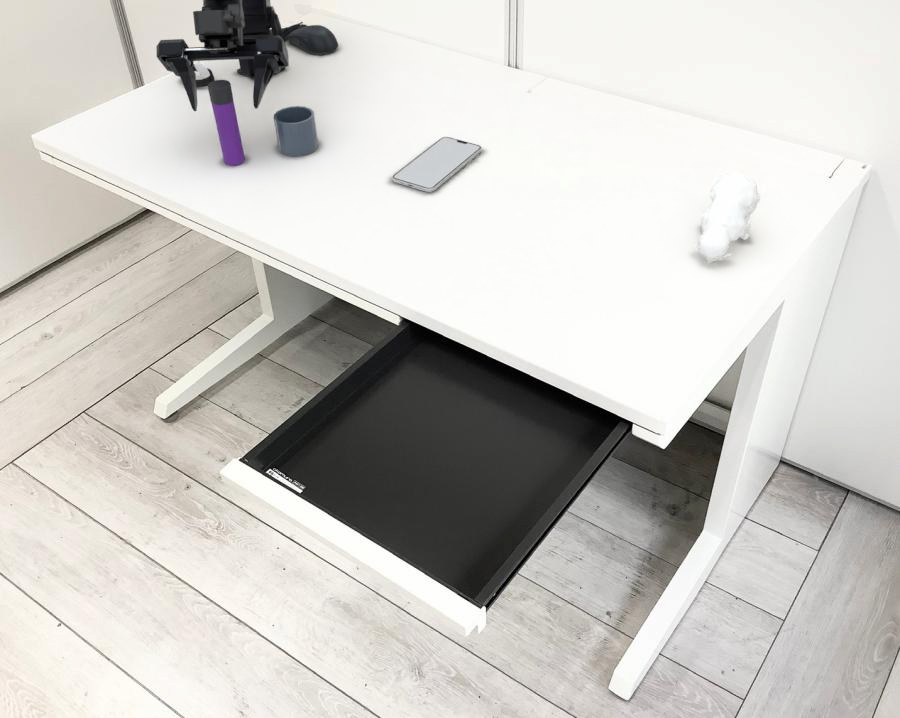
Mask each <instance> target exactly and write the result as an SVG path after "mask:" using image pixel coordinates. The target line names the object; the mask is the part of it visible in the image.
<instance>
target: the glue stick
mask: <svg viewBox="0 0 900 718" xmlns="http://www.w3.org/2000/svg"><path fill="white" fill-rule="evenodd" d="M207 91H208V96H209V99H210V102H211V107H212V111H213V116H214V121H215V125H216V130H217V134H218V140H219V144H220V149H221V153H222V157H223V163H224V164H225V165H227V166H229V167H230V166H231V167H236V166H240V165H242V164H244V163H245V162H246V157H245V152H244V147H243V141H242V137H241V131H240V127H239V126H240V125H239V121H238V117H237V112H236V111H237V110H236V106H235V101H234V94H233V89H232V84H231V82H230V81H229V80H227V79H216V80H215V81H212V82H210V83H209V84H208V86H207Z"/></svg>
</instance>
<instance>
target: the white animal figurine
mask: <svg viewBox="0 0 900 718" xmlns="http://www.w3.org/2000/svg"><path fill="white" fill-rule="evenodd" d="M709 192H710V195H709V196H710V200H711V202H710V204H709V206H708V208H707V210H706V211H705V212H704V213H703V214H702V216H701V219H700V227H701V232H702V234H701V235H700V237H699V240H698V245H697V244H696V243H694V242H693V243H694V246H695V248H696V249H697V250H698V251H699V252H698V254H699V255H701V256H702V257H703V258H704V259H706V261H707V262H708V263H709V264H712V263H713V262H715V261H724V260H727V257H729V256H731V255H733V254H734V252H733V253H732V252H731V253H728V250H729V248H730V244H731V243H732V242H733V241H736V240H739V239H741V240H743V241H745V240H748V238H749V232H750V230H751V228H752V224H751V223H748V221H749V220H750V217H751V215H752V214H753V213H754V212H755V211H756V209H757V207H758V204H759V203H760V201H761V195H760V193H759V190H758V186H757V183H756V182H755V180H754V179H753V178H751V177H749V176H747V175H745V174H744V173H741V172H732V173H725V174H723V175H721V176H720V177H719V178H718V179H717V181H716V182H715V184H714V185H713V186H712V187H711V188H710V190H709ZM726 253H727V254H726Z"/></svg>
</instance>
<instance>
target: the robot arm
mask: <svg viewBox="0 0 900 718" xmlns="http://www.w3.org/2000/svg"><path fill="white" fill-rule="evenodd" d="M192 15H193V25H194V33H195V36H198V41H199V42H200V43H201V44H202V43H203V46H196V47H195V46H194V47H193V46H191V47H190V46H189V45H188V44H187V42H186V41H185V40H184V38H177V39H175V38H174V39H160V40H159V42H158V43H157V44H156V48H155V49H156V58H157V60H158V61H159V62H160V63H161V64H162V66H163V68H165V70H166V71H167V72H171V73H173V74H174V75H175V77H179V78H180V80H181V82H182V84H183V87H184V90H185V93H186V95H187V98H188V101H189V103H190V107H191V109H192V110H193V111H194V112H197V110H198V91H197V89H198V88H197V87H196V80H197V77H196V76H197V75H196V71H194V70H193V69H192V67H193V66H194V64H195V63H194V62H198V61H200V62H203V61H230V60H238V64H239V68H238V69H236V72H237V74H240V75H243V76H245V77H249V78H251V79H253V90H252V92H253V94H252V98H253V99H252V101H253V108H254V109H256V110H257V109H258V108H259V107H260V104H261V101H262V99H263V98H264V97H263V96H264V95H265V91H266V90H267V88H268V85H269V83H270V82H271V80H272V78H273V77H274V75H276V74H278V73H280V72H282V71H284V70H286V68H287V67H289V65H290V62H289V60H290V59H289V58H290V57H289V50H288V48H287V46H286V42H285V40H283V39H282V37H283V35H282V28H283V27H282V24H281V21H280V18H279V15H278V14H277V13H276V10H275V7H274V5H271V0H202V6H201V10H194V11H192Z"/></svg>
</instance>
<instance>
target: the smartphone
mask: <svg viewBox="0 0 900 718" xmlns="http://www.w3.org/2000/svg"><path fill="white" fill-rule="evenodd" d="M481 152H482V146H481V145H479V144H476V143H473V142H469V141H465V140H461V139H458V138H453V137H450V136H443V137H441V138H439V139H438V140H437V141H436V142H434V143H433V144H432V145H430V146H429V147H428V148H427V149H425V150H424V151H422V152H421V153H420V154H419V155H418V156H416V157H415V158H413V159H412V160H411V161H410V162H408V163H407V164H406V165H405V166H403V167H402V168H400V169H399V170H398V171H397V172H395V173H394V174H393V175H392V177H391V178H392V181H393V182H394V183H396V184H400V185H403V186H405V187H410V188H413V189H417V190H420V191H422V192H426V193H432V192H434V191H436V190H437V189H438V188H439V187H441V186H442V185H443V184H444V183H445V182H446V181H448V180H449V179H450V178H451V177H453V176H454V175H455V174H457V172H458V171H460V170H461V169H462V168H463V167H464V166H466V165H467V164H468V163H469V162H470V161H472V160H473V159H474V158H475V157H477V156H478V155H479V154H480V153H481Z"/></svg>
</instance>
